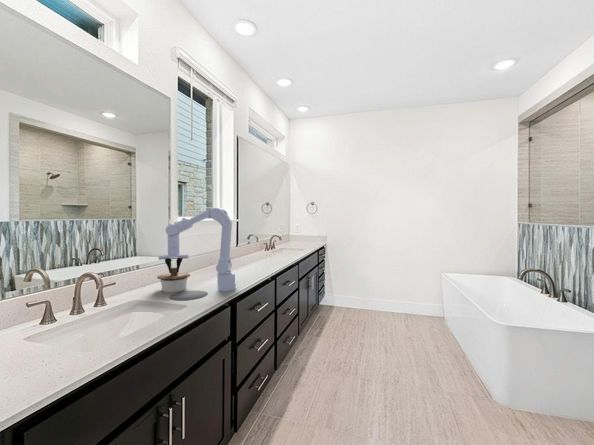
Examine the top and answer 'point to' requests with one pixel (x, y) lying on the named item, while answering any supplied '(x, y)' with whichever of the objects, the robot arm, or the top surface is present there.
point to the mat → (188, 295)
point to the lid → (173, 275)
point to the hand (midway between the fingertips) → (174, 272)
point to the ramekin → (173, 284)
